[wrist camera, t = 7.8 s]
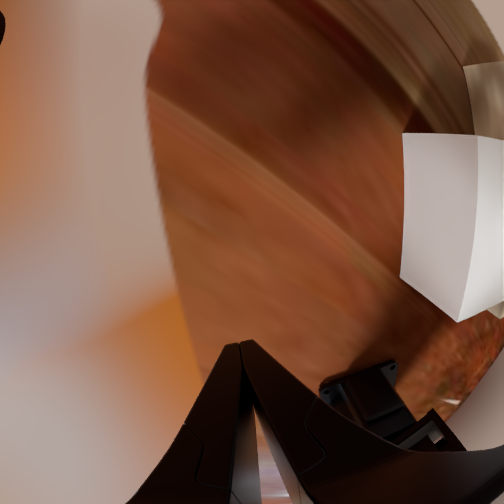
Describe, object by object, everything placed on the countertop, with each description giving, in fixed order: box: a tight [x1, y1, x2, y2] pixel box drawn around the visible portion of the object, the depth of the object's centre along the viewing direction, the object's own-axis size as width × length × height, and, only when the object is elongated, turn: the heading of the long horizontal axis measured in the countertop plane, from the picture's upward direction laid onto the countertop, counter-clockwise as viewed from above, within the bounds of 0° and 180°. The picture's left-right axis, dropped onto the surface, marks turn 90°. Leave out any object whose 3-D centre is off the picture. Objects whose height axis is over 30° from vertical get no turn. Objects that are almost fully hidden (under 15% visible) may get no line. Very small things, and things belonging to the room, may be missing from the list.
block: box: [400, 133, 504, 322], centre depth 13 cm, size 9×7×6 cm
